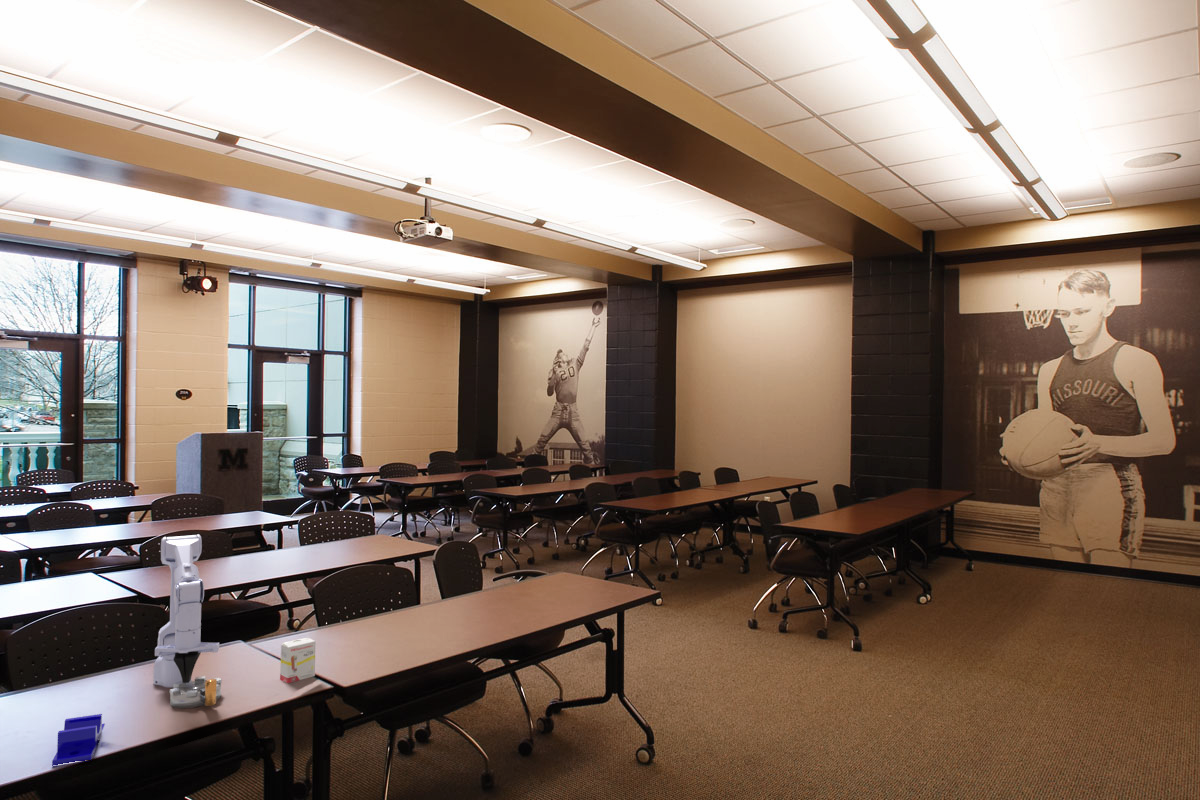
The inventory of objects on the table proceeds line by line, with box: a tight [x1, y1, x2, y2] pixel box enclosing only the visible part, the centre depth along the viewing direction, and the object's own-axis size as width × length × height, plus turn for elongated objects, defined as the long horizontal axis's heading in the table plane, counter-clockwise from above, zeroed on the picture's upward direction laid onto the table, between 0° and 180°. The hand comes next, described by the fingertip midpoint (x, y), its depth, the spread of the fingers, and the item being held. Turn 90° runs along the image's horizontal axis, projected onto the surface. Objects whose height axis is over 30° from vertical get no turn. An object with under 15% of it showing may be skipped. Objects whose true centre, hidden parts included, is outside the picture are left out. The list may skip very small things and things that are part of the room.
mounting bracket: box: [51, 713, 106, 767], centre depth 169 cm, size 18×7×6 cm, turn 27°
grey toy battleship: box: [169, 675, 223, 709], centre depth 193 cm, size 17×12×8 cm
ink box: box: [279, 637, 316, 684], centre depth 211 cm, size 9×5×12 cm, turn 137°
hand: (186, 681), depth 184 cm, fingers closed
